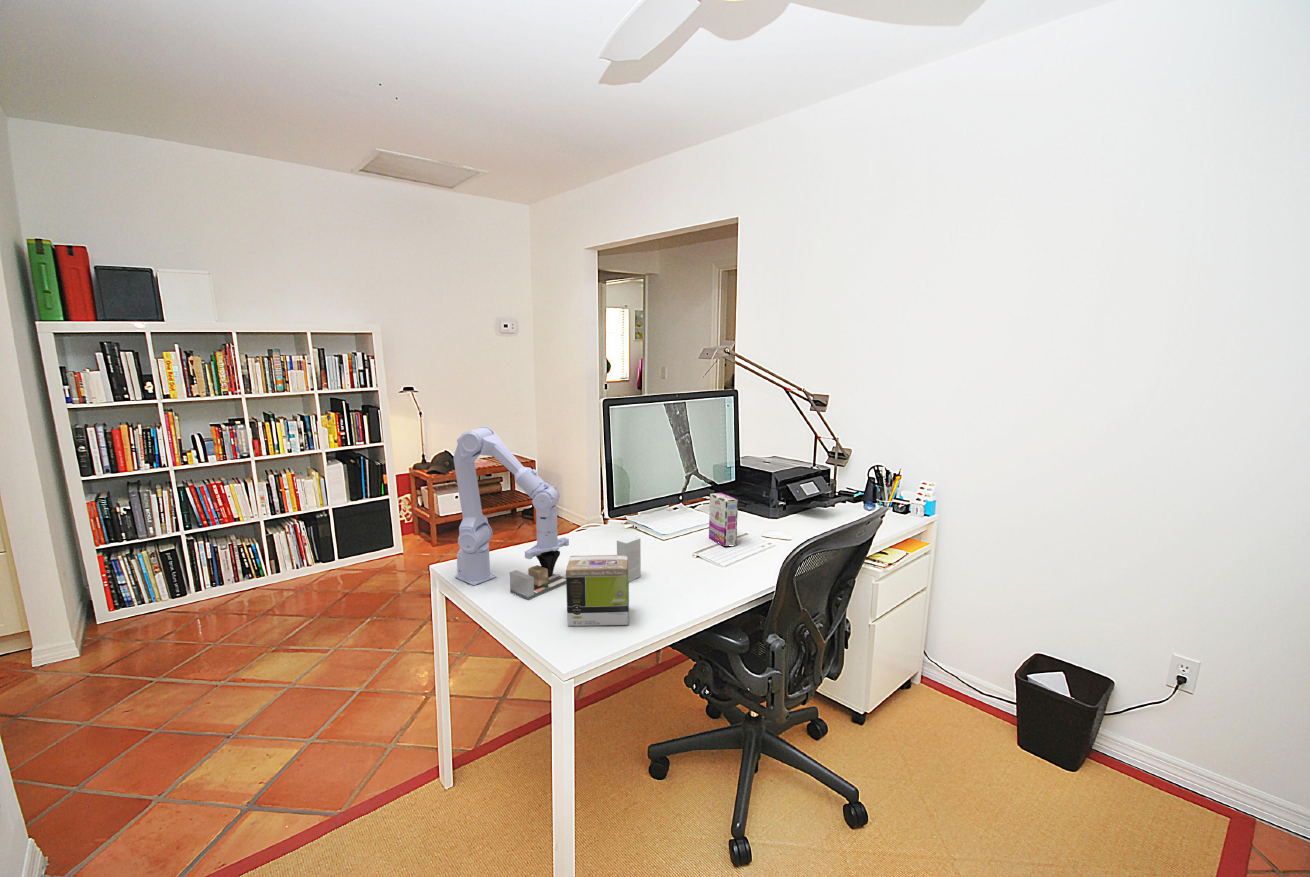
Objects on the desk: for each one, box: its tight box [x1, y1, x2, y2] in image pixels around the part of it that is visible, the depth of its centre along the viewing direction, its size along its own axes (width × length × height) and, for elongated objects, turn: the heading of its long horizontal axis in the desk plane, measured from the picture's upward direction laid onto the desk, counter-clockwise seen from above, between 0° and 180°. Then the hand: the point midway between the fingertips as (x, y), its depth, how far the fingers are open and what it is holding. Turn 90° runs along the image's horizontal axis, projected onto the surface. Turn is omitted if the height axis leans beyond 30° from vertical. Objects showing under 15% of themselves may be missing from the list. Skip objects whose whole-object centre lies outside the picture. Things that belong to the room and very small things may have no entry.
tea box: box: [565, 554, 630, 627], centre depth 141 cm, size 15×10×15 cm, turn 92°
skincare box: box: [616, 534, 642, 582], centre depth 165 cm, size 6×4×12 cm
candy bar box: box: [708, 492, 739, 547], centre depth 196 cm, size 11×5×16 cm, turn 25°
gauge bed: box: [509, 569, 566, 601], centre depth 159 cm, size 15×8×6 cm, turn 142°
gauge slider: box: [527, 564, 548, 588], centre depth 158 cm, size 4×6×4 cm, turn 52°
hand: (548, 575), depth 161 cm, fingers closed
